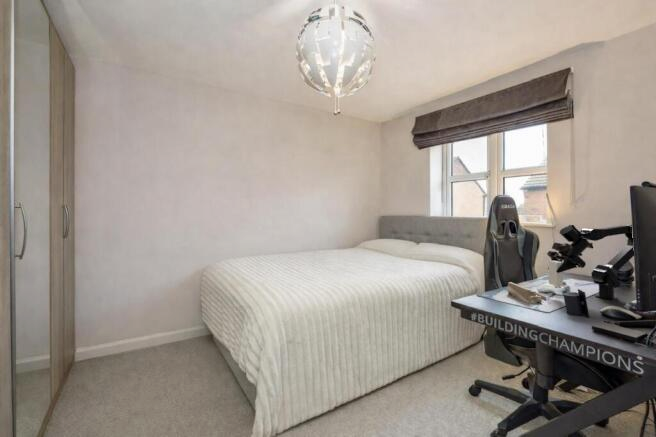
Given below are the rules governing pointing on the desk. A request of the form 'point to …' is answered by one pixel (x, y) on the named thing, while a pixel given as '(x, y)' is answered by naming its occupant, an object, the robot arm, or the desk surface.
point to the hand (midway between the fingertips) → (552, 271)
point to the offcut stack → (532, 292)
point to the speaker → (576, 303)
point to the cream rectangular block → (555, 273)
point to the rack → (523, 293)
